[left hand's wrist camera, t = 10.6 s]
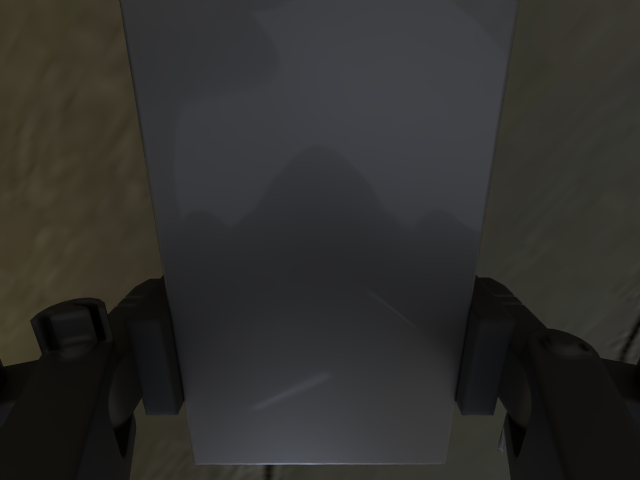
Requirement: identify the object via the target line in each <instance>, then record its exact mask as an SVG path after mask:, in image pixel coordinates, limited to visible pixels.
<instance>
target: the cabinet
mask: <svg viewBox="0 0 640 480" xmlns="http://www.w3.org/2000/svg"><path fill="white" fill-rule="evenodd" d="M119 1H120V7H121V13H122V20H123V26H124V32H125V38H126V44H127V51H128V57H129V63H130V69H131V75H132V81H133V88H134V94H135V100H136V106H137V112H138V119H139V125H140V131H141V137H142V143H143V150H144V156H145V162H146V168H147V174H148V181H149V187H150V193H151V199H152V205H153V212H154V218H155V224H156V230H157V236H158V242H159V249H160V255H161V261H162V267H163V273H164V280H165V286H166V292H167V298H168V304H169V311H170V317H171V323H172V329H173V335H174V342H175V348H176V354H177V360H178V366H179V373H180V379H181V385H182V391H183V397H184V403H185V410H186V416H187V422H188V428H189V434H190V441H191V447H192V453H193V459H194V463H195V464H444V463H445V462H446V457H447V451H448V445H449V438H450V432H451V426H452V420H453V413H454V407H455V401H456V395H457V388H458V382H459V376H460V370H461V363H462V357H463V351H464V345H465V338H466V332H467V326H468V319H469V313H470V307H471V301H472V294H473V288H474V282H475V276H476V269H477V263H478V257H479V251H480V244H481V238H482V232H483V226H484V219H485V213H486V207H487V201H488V194H489V188H490V182H491V176H492V169H493V163H494V157H495V151H496V144H497V138H498V132H499V125H500V119H501V113H502V107H503V100H504V94H505V88H506V82H507V75H508V69H509V63H510V57H511V50H512V44H513V38H514V32H515V25H516V19H517V13H518V7H519V0H119Z"/></svg>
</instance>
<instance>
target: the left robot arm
mask: <svg viewBox="0 0 640 480" xmlns="http://www.w3.org/2000/svg"><path fill="white" fill-rule="evenodd" d="M30 322H31V324H32V327H33V330H34V333H35V335H36V338H37V341H38V344H39V347H40V349H41V352H42V355H41V357H40V359H39V360H35V361H30V362H25V363H20V364H15V365H10V366H5V367H3V364H2V362H1V359H0V480H129V477H130V470H131V463H132V456H133V448H134V441H135V434H136V422H135V417H134V413H133V411H134V410H135V408H136V406H137V405H138V403H139V401H140V400H141V398H142V400H143V404H144V408H145V412H146V415H178V413H179V411H180V409H181V406H182V404H183V402H184V397H183V391H182V385H181V379H180V373H179V366H178V360H177V354H176V348H175V342H174V335H173V329H172V323H171V317H170V311H169V304H168V298H167V292H166V286H165V280H164V275H163V276H162V277H161V278H160V279H149V280H147V281H145V282H143V283H141V284H140V285H138V286H136V287H135V288H134V289H133V290H132V291H131V292H130V293H129V294H128V295H127V296H126V298H124V299H123V300H122V301H121V302H120V303H119V304H118V307H115V308H114V309H113V310H112V311H111V312H110V313H109V314H107V310H106V307H105V303H104V302H103V301H101V300H100V299H95V298H78V299H73V300H69V301H64V302H61V303H58V304H56V305H53V306H51V307H48V308H47V309H45V310H43V311H41V312H40V313H38V314H37V315H36V316H35V317H34V318H33V319H31V320H30ZM498 397H499V398H500V400H501V402H502V403H503V405H504V407H505V408H506V410H507V413H506V417H505V421H504V425H503V429H502V432H501V436H500V440H499V444H498V451H500V452H503V449H504V446H505V444H506V447H507V455H508V462H509V469H510V476H511V480H640V358H639V360H638V363H637V365H634V364H629V363H623V362H618V361H613V360H608V359H603V358H600V356H599V355H598V353H597V352H596V351H595V350H594V348H593V347H592V346H591V345H589V344H588V343H586V342H585V341H583V340H582V339H580V338H578V337H576V336H574V335H572V334H569V333H567V332H563V331H559V330H556V329H547V328H546V327H545V326H544V325H543V324H542V323H541V322H540V321H539V320H538V319H537V318H536V317H535V316H534V315H533V314H532V313H531V312H530V311H529V310H528V309H527V308H526V307H525V306H524V305H522V303H521V302H520V301H519V300H518V299H517V298H516V297H514V295H513V294H512V293H511V292H510V291H509V290H508V289H507V288H506V287H505V286H504V285H502V284H501V283H499V282H497V281H495V280H493V279H492V278H478V277H477V276H475V282H474V288H473V294H472V301H471V307H470V313H469V319H468V326H467V332H466V338H465V345H464V351H463V357H462V363H461V370H460V376H459V382H458V388H457V395H456V403H457V405H458V407H459V409H460V412H461V414H462V415H493V414H494V410H495V406H496V402H497V398H498Z"/></svg>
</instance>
